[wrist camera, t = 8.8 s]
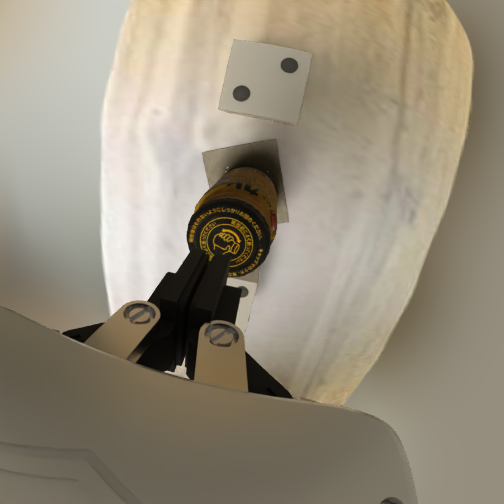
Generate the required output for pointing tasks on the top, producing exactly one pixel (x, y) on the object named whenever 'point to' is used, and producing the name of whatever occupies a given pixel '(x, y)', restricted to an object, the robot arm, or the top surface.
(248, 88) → the two dot block
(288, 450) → the robot arm
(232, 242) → the condiment
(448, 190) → the top surface
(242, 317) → the three dot block
